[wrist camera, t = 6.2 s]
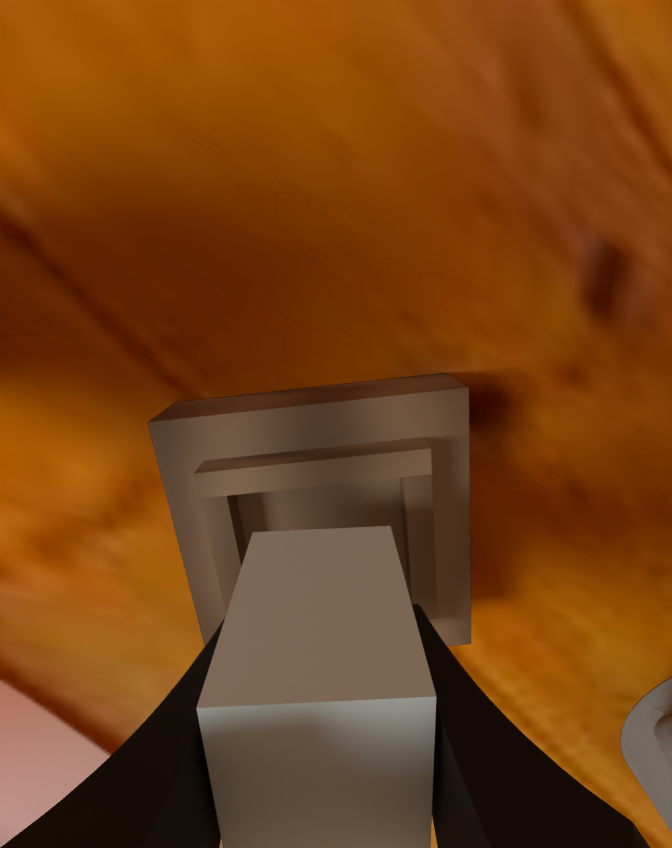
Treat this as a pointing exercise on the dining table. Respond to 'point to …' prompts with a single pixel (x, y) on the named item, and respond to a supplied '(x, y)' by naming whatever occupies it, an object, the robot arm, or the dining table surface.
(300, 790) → the block
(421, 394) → the taupe stepped square slab
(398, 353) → the dining table surface
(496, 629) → the dining table surface
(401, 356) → the dining table surface
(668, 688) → the grey can
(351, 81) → the dining table surface
